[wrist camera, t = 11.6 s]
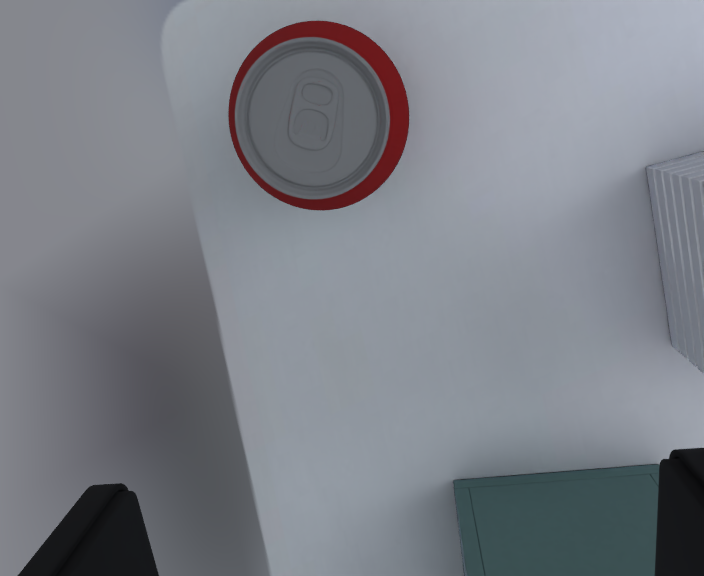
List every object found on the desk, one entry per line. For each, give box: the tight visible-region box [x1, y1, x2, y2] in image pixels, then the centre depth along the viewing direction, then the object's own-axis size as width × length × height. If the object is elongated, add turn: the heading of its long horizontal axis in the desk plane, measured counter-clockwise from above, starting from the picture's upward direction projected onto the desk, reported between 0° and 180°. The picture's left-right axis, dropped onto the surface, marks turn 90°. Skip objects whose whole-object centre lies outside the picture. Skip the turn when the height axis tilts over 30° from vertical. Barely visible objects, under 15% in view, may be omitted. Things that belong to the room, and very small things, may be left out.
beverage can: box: [229, 21, 409, 210], centre depth 25 cm, size 7×7×12 cm
